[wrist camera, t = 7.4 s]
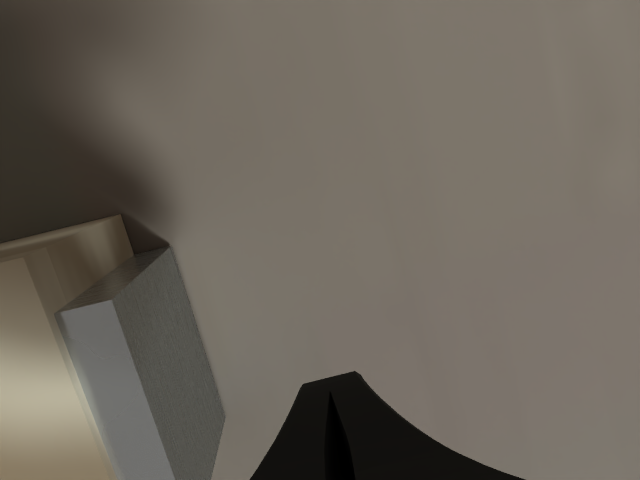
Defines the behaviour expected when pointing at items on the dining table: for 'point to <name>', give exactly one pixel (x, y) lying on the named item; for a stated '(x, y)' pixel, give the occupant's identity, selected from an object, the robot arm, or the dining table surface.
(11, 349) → the block
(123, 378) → the silver metal piece
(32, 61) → the dining table surface
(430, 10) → the dining table surface
